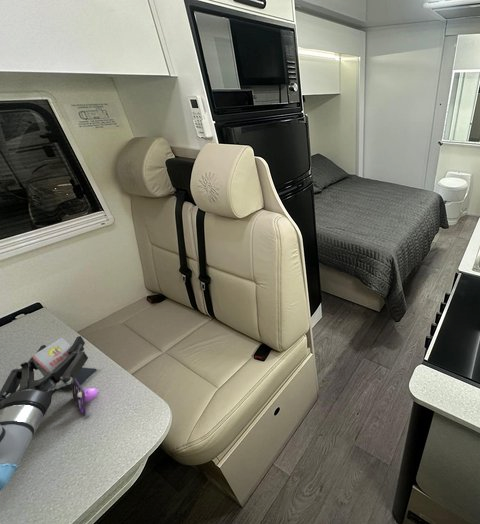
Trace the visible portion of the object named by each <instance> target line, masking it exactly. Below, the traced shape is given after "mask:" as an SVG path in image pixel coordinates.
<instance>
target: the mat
mask: <svg viewBox="0 0 480 524" xmlns="http://www.w3.org/2000/svg"><path fill="white" fill-rule="evenodd" d="M97 370H98V369H97V368H92V367H82V368H81V370H80V371H79V373H78V374H77V376H76V377H75V378H76V379H77V381H78V383H79V384H80V386H82V385H83V383H85V381H87V380H88V379H89V378H90V377H91V376H92V375H93V374H94V373H95V372H97ZM60 389H67V390H72V386H71V387H67V386H63V387H61V388H60Z"/></svg>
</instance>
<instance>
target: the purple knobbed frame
mask: <svg viewBox="0 0 480 524" xmlns="http://www.w3.org/2000/svg"><path fill="white" fill-rule="evenodd" d="M71 390H72V398H73V399H72V400H74V402H75V403H76V405H77V407H78V409H79V411H80V412H81V414H82V416H83V417H86V415H87V413H86V411H87V410H86V403H88V402H91V401H93V400H94V399H95V398H96V397H97V396H98V394H99V393H100V390H98V389H97V388H95V387H92V386H91V387H90V388H86V387H84V389H83V387H82V385H80V384H79V383H78V381H77V379H76V378H75V379H74V384H73V385H72V389H71Z"/></svg>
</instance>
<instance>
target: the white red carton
mask: <svg viewBox="0 0 480 524" xmlns="http://www.w3.org/2000/svg"><path fill="white" fill-rule="evenodd" d="M71 347H72V345H71V344H70V343H69V342H68V341H67V340H66V339H64V337H61V338H59V339H57V340H56V341H54V342H52V343H51V344H49V345H46V348H44V349H42V350H41V351H39V352H37V351H36V353H34V354H32V355H31V356H30V358H32V359H33V361H34V363H35V366H36V367H37V368H38V371H39V372H40V373H41V375H42V376H43V377H44V376H45V375H46V374H47V373H49V372H52V371H53V370H54V369H55V368H56V367H57V366H58V365H59V364H60V363H61V362H63V361H64V360H65V359H66V358H67V357H68V356H69V353H68V352H69V350H70V348H71ZM85 366H86V363H85V364H84V365H83V367H85Z"/></svg>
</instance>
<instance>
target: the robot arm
mask: <svg viewBox="0 0 480 524" xmlns="http://www.w3.org/2000/svg"><path fill="white" fill-rule="evenodd" d="M85 344H86V342H85V340H84V339H83V337H82V336H81V335H79V336H76V338H75V340H74V341H73V343H72V345H71V348H70V350H69V352H68V353H69V356H68V357H67V358H66V359H65V360H64V361H63V362H61V363H60V364H59V365H58V366H57V367H56V368H55V369H54V370H53V371H52V372H49V373H47V374H46V375H45V376H43V377H41V378H39V379H36V380H35V371H37V370H38V368H37V367H36V366H35V363H34V361H33V359H32V357H30V359H29V360H28V361H24V362H22V363H21V364H20V367H21V368H14V369H12V370H11V371H10V373H9V374H8V376H7V378H6V379H5V382H4V384H3V385H2V387H1V389H0V492H2V491H3V489H4V488H5V487H6V486H7V484H8V483H9V481H10V480H11V478H12V476H13V475H14V473H15V472H16V471H17V469H18V466H19V465H20V462H21V460H22V458H23V456H24V454H25V452H26V450H27V449H28V447H29V444H30V443H31V441H32V439H33V437H34V436H35V434H36V432H37V430H38V427H40V424H41V422H42V420H43V418H44V416H45V415H46V413H47V411H48V410H49V407H50V406H51V403H52V399H53V396H54V394H55V393H56V392H58V390H59V389H62V388H61V387H63V386H67V387H71V386H72V385H73V384H74V379H75V377H76V376H77V374H78V373H79V371H80V370H81V368H84V366H83V365H84V364H85V365H86V363H87V361H88V359H89V357H88V355H87V353H86V352H85V347H84V346H85ZM46 347H47V345H46V344H42V345H40V347H39V349H37V351H36V353H37V352H39V351H41V350H42V349H44V348H46ZM38 371H39V370H38Z"/></svg>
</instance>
